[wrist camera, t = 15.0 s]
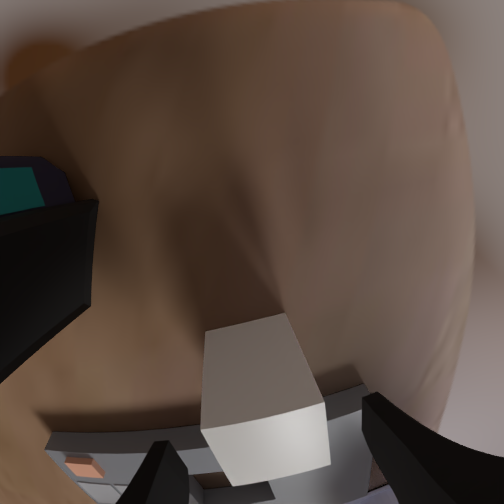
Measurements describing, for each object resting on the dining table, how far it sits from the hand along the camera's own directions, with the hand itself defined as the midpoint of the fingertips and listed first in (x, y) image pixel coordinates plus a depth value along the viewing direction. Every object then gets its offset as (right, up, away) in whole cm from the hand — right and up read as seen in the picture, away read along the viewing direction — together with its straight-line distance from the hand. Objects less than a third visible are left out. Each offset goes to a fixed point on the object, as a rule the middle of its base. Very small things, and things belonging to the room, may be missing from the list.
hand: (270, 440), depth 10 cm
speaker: (-11, +8, +3) cm, 14 cm away
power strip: (-3, -10, +9) cm, 13 cm away
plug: (-1, +2, +6) cm, 6 cm away
